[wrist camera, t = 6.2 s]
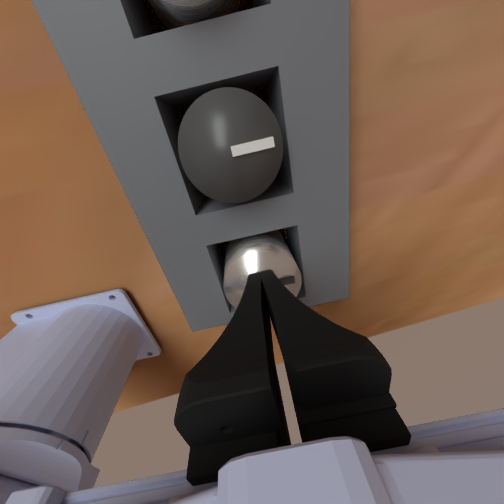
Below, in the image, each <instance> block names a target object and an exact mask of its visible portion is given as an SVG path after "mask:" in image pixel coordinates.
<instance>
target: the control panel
mask: <svg viewBox="0 0 504 504" xmlns="http://www.w3.org/2000/svg"><path fill="white" fill-rule="evenodd" d="M32 2H33V4H34V6H35V8H36V11H37V13H38V15H39V17H40V19H41V21H42V23H43V25H44V27H45V29H46V31H47V33H48V35H49V37H50V39H51V41H52V43H53V46H54V48H55V50H56V52H57V54H58V56H59V58H60V60H61V62H62V64H63V66H64V68H65V70H66V72H67V74H68V76H69V78H70V80H71V83H72V85H73V87H74V89H75V91H76V93H77V95H78V97H79V99H80V101H81V103H82V105H83V107H84V109H85V111H86V113H87V115H88V118H89V120H90V122H91V124H92V126H93V128H94V130H95V132H96V134H97V136H98V138H99V140H100V142H101V144H102V146H103V148H104V150H105V152H106V155H107V157H108V159H109V161H110V163H111V165H112V167H113V169H114V171H115V173H116V175H117V177H118V179H119V181H120V183H121V185H122V187H123V190H124V192H125V194H126V196H127V198H128V200H129V202H130V204H131V206H132V208H133V210H134V212H135V214H136V216H137V218H138V220H139V222H140V225H141V227H142V229H143V231H144V233H145V235H146V237H147V239H148V241H149V243H150V245H151V247H152V249H153V251H154V253H155V255H156V257H157V259H158V262H159V264H160V266H161V268H162V270H163V272H164V274H165V276H166V278H167V280H168V282H169V284H170V286H171V288H172V290H173V292H174V294H175V297H176V299H177V301H178V303H179V305H180V307H181V309H182V311H183V313H184V315H185V317H186V319H187V321H188V323H189V325H190V327H191V329H192V331H198V330H203V329H207V328H212V327H217V326H221V325H226V324H229V322H230V320H231V319H232V317H233V315H234V313H235V311H236V308H235V307H234V306H233V305H231V303H230V302H229V301H228V299H227V298H226V296H225V293H224V286H223V285H224V269H225V260H224V257H223V254H222V251H221V248H220V244H219V243H221V242H225V241H230V240H234V239H239V238H243V237H247V236H252V235H256V234H261V233H265V232H269V231H274V230H278V229H283V228H286V229H287V236H288V243H289V250H290V252H291V254H292V256H293V258H294V260H295V262H296V264H297V266H298V268H299V270H300V273H301V280H302V282H301V288H300V291H299V293H298V295H297V298H298V299H299V300H300V301H301V302H302V303H304V304H305V305H306V306H308V307H310V306H314V305H319V304H324V303H328V302H333V301H337V300H342V299H347V298H349V194H350V0H253V5H254V8H252V9H248V10H244V11H240V12H236V13H232V14H228V15H225V16H221V17H217V18H213V19H209V20H205V21H201V22H198V23H194V24H190V25H186V26H182V27H178V28H174V29H170V30H167V31H163V32H159V33H155V34H153V33H152V30H151V26H150V23H149V20H148V17H147V14H146V11H145V7H144V4H143V1H142V0H32ZM264 86H265V87H266V93H267V100H268V107H269V108H270V109H271V110H272V112H273V114H274V115H275V117H276V119H277V121H278V123H279V126H280V129H281V132H282V138H283V157H282V163H281V166H280V169H279V171H278V175H279V180H275V181H273V182H272V184H271V185H270V186H269V187H268V188H267V189H266V190H265V191H264V192H263V193H262V194H260V195H259V196H257V197H255V198H253V199H251V200H249V201H245V202H241V203H224V202H220V201H217V200H214V199H212V198H210V197H208V196H207V197H204V194H203V193H202V192H201V191H199V190H198V189H197V188H196V187H195V186H194V185H193V184H192V182H191V181H190V180H189V178H188V177H187V175H186V173H185V171H184V169H183V167H182V164H181V161H180V157H179V152H178V133H179V129H180V125H181V121H180V118H179V115H178V112H177V109H176V108H179V107H183V106H187V105H191V104H192V103H193V102H194V101H195V100H196V99H198V98H199V97H200V96H202V95H203V94H205V93H207V92H209V91H211V90H214V89H217V88H223V87H234V88H240V89H243V90H246V91H248V90H252V89H256V88H260V87H264ZM269 315H270V314H269Z"/></svg>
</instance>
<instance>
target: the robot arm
mask: <svg viewBox="0 0 504 504" xmlns="http://www.w3.org/2000/svg"><path fill="white" fill-rule="evenodd" d="M260 274H261V275H260ZM111 295H113V296H115V297H113V296H111ZM269 314H270V315H269ZM270 318H271V321H272V324H273V327H274V330H275V333H276V336H277V339H278V343H279V346H280V349H281V352H282V356H283V359H284V364H285V368H286V372H287V377H288V381H289V385H290V390H291V395H292V399H293V403H294V408H295V412H296V417H297V421H298V425H299V430H300V435H301V438H302V443H299V444H294V445H291V442H290V436H289V431H288V426H287V421H286V416H285V411H284V406H283V401H282V396H281V391H280V386H279V381H278V376H277V371H276V365H275V360H274V352H273V342H272V333H271V323H270ZM11 319H12V320H13V321H14V322H15V323H16V324H17V326H16V327H15V328H14V329H13V330H11V331H10V332H9V333H8V334H7V335H6V336H5V337H3V338H2V339H1V340H0V504H504V408H502V409H497V410H492V411H487V412H481V413H476V414H471V415H466V416H461V417H456V418H451V419H446V420H440V421H435V422H430V423H425V424H420V425H415V426H409V427H406V425H405V424H404V422H403V420H402V419H401V417H400V415H399V414H398V412H397V410H396V409H395V408H396V403H395V401H394V399H393V398H392V396H391V394H390V393H389V388H390V382H391V375H392V373H391V368H390V366H389V364H388V363H387V361H386V359H385V358H384V357H383V355H382V354H381V353H380V352H379V350H378V349H377V348H376V347H375V346H374V345H373V344H372V343H371V341H370V340H368V338H367V337H365V336H362V335H360V334H357V333H355V332H352V331H350V330H348V329H345V328H343V327H341V326H339V325H337V324H335V323H333V322H331V321H330V320H328V319H326V318H324V317H323V316H321V315H319V314H318V313H316V312H315V311H313V310H312V309H310V308H309V307H308V306H306V305H305V304H304V303H302V302H301V301H300V300H299V299H298V298H297V297H295V296H294V295H293V294H292V293H291V292H290V291H289V290H288V289H287V288H286V287H285V286H284V285H283V284H282V282H281V281H280V280H279V279H278V278H277V276H276V275H275V273H274V272H273V271H272V270H267V271H262V272H258V273H253V274H249V275H248V277H247V282H246V286H245V289H244V292H243V295H242V297H241V300H240V302H239V304H238V307H237V309H236V311H235V313H234V315H233V317H232V319H231V320H230V322H229V324H228V325H227V327H226V328H225V330H224V332H223V333H222V335H221V336H220V337H219V339H218V340H217V341H216V343H215V344H214V345H213V346H212V348H211V349H210V350H209V351H208V353H207V354H206V355H205V356H204V357H203V358H202V359H201V360H200V361H199V362H198V363H197V364H196V365H195V366H194V367H193V368H192V369H191V371H190V372H188V373H187V374H186V376H185V379H184V382H183V385H182V388H181V391H180V394H179V398H178V403H177V408H176V413H175V418H174V425H175V427H176V429H177V431H178V432H179V433H180V434H181V436H182V437H183V438H184V440H185V441H186V442H187V444H188V445H189V446H190V453H189V460H188V468H187V470H182V471H177V472H172V473H167V474H162V475H157V476H151V477H147V478H142V479H136V480H131V481H126V482H121V483H115V484H110V485H106V486H100V487H95V488H93V486H94V484H95V482H96V479H97V477H98V474H99V472H100V470H99V469H98V468H96V467H94V466H92V465H91V461H92V459H93V457H94V454H95V452H96V450H97V447H98V445H99V443H100V440H101V438H102V436H103V434H104V431H105V429H106V427H107V425H108V422H109V420H110V417H111V415H112V413H113V411H114V408H115V406H116V404H117V402H118V399H119V397H120V395H121V392H122V390H123V388H124V386H125V383H126V381H127V379H128V376H129V374H130V372H131V369H132V367H133V365H134V363H135V361H136V360H141V359H145V358H150V357H155V356H158V355H160V353H161V348H160V347H159V345H158V343H157V342H156V340H155V338H154V337H153V335H152V334H151V332H150V330H149V329H148V327H147V325H146V324H145V322H144V321H143V319H142V317H141V316H140V314H139V313H138V311H137V309H136V308H135V306H134V304H133V303H132V301H131V300H130V298H129V296H128V295H127V293H126V292H125V291H124V290H122V289H115V290H110V291H106V292H102V293H97V294H93V295H88V296H84V297H79V298H75V299H70V300H66V301H61V302H57V303H52V304H48V305H43V306H39V307H34V308H30V309H26V310H21V311H17V312H15V313H13V314H12V315H11Z"/></svg>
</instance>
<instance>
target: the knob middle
mask: <svg viewBox="0 0 504 504" xmlns="http://www.w3.org/2000/svg"><path fill="white" fill-rule="evenodd" d="M178 152H179V157H180V161H181V164H182V167H183V169H184V171H185V173H186V175H187V177H188V178H189V180H190V181H191V182H192V184H193V185H194V186H195V187H196V188H197V189H198V190H199V191H201V192H202V193H203V194H205V195H206V196H208V197H210V198H212V199H214V200H217V201H220V202H224V203H241V202H245V201H249V200H251V199H253V198H255V197H257V196H259V195H260V194H262V193H263V192H264V191H265V190H266V189H267V188H268V187H269V186H270V185H271V184H272V182H273V181H274V179H275V178H276V176H277V174H278V171H279V169H280V166H281V163H282V157H283V138H282V132H281V129H280V126H279V123H278V121H277V119H276V117H275V115H274V114H273V112H272V110H271V109H270V108H269V107H268V105H267V104H266V103H265V102H264V101H262V100H261V99H260V98H259V97H257V96H256V95H254V94H253V93H251V92H249V91H246V90H243V89H240V88H234V87H223V88H217V89H214V90H211V91H209V92H207V93H205V94H203V95H202V96H200V97H199V98H198V99H196V100H195V101H194V102H193V103H192V104H191V106H190V107H189V108H188V110H187V111H186V113H185V115H184V117H183V119H182V122H181V125H180V129H179V133H178Z"/></svg>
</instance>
